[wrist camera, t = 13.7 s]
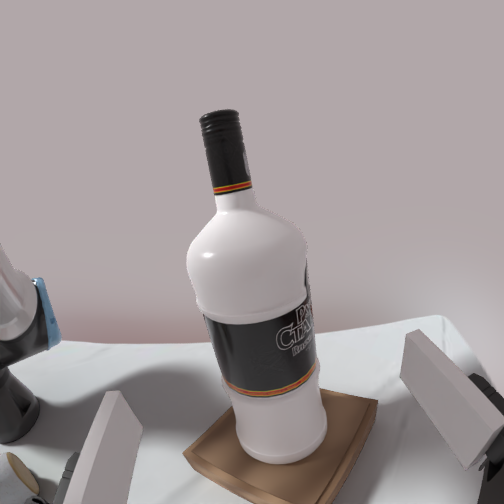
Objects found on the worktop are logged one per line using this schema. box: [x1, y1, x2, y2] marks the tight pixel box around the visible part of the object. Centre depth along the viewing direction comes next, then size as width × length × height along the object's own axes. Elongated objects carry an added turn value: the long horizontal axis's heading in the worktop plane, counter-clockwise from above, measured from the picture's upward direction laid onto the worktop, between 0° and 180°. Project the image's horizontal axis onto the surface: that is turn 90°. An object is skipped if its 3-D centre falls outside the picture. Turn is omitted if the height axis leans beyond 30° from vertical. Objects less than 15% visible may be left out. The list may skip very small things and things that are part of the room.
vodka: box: [186, 109, 327, 464], centre depth 21 cm, size 9×9×30 cm
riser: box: [182, 388, 378, 504], centre depth 26 cm, size 16×16×4 cm
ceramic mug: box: [0, 452, 39, 504], centre depth 16 cm, size 11×8×8 cm
